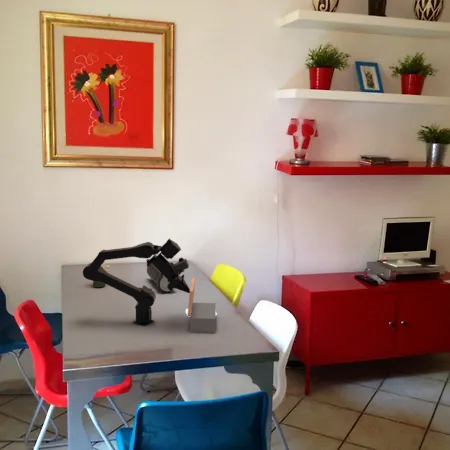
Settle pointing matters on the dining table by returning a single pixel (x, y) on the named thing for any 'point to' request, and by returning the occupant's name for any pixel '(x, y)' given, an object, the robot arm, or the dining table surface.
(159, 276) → the muzzle brake
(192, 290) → the lid
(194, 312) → the cable box
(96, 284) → the trophy cup
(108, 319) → the dining table surface
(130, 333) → the dining table surface
